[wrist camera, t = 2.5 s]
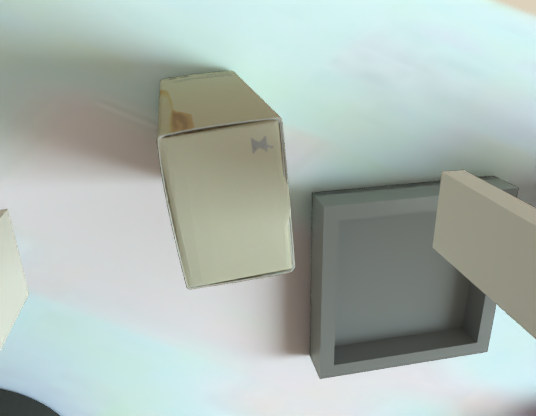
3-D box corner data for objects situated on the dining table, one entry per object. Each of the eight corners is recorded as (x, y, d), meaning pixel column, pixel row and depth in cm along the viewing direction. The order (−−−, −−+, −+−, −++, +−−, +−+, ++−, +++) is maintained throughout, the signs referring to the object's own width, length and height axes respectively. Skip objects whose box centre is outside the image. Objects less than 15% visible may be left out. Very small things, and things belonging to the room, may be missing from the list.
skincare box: (157, 78, 26) (149, 124, 15) (235, 68, 27) (283, 105, 15) (177, 187, 28) (183, 296, 17) (248, 176, 29) (298, 274, 18)
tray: (309, 355, 35) (319, 378, 33) (312, 192, 30) (323, 206, 28) (467, 331, 37) (487, 351, 35) (494, 175, 32) (518, 187, 30)
